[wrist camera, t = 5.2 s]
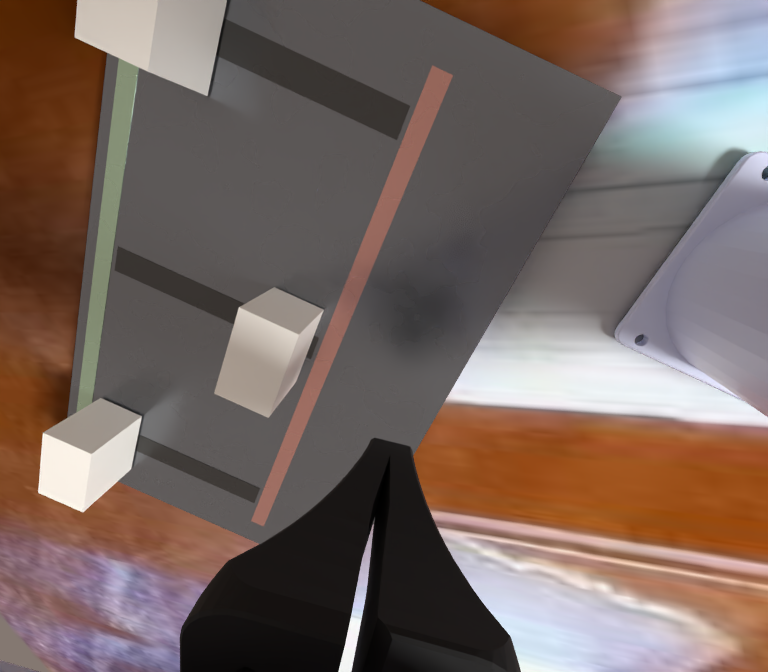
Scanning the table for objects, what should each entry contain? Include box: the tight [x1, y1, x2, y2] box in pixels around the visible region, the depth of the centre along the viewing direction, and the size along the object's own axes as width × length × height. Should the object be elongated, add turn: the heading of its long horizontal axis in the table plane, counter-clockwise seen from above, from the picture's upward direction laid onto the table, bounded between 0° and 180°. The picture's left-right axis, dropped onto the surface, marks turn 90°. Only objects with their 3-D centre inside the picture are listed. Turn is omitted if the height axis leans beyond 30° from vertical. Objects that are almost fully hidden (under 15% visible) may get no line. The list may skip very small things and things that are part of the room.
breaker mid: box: [214, 287, 324, 418], centre depth 16 cm, size 2×4×3 cm, turn 157°
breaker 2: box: [75, 0, 227, 96], centre depth 12 cm, size 2×4×3 cm, turn 157°
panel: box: [67, 0, 621, 544], centre depth 18 cm, size 18×27×1 cm, turn 157°
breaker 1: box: [38, 398, 142, 512], centre depth 20 cm, size 2×4×3 cm, turn 156°
